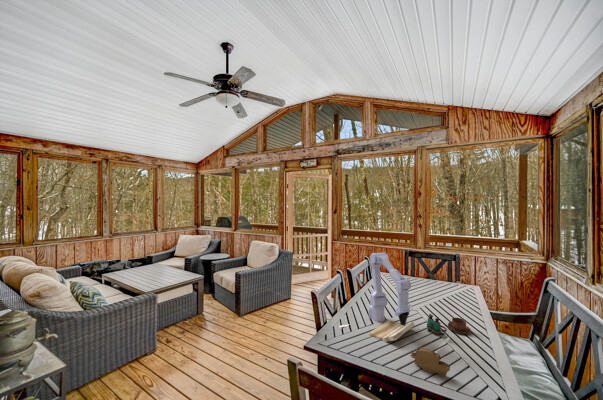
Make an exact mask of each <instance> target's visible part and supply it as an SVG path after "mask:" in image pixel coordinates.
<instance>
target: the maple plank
mask: <svg viewBox="0 0 603 400" xmlns="http://www.w3.org/2000/svg"><path fill="white" fill-rule="evenodd" d="M414 326H415V323H414V321H411V322H410V321H409V322H406V324H405V326H403V325H400V326H399V327H397V328H396V329H395V330H393V331H392V332H390V333H389V334H388V335H386V336H385V337H383V338H382V340H383V341H382V340H381V341H382V342H385V343H387V342H392V341H397V340H398V339H399V338H400V337H402V336H403V335H404V334H405V333H406V332H408V331H409V330H411V329H413V328H414Z"/></svg>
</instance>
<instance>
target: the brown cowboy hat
mask: <svg viewBox="0 0 603 400" xmlns="http://www.w3.org/2000/svg"><path fill="white" fill-rule="evenodd" d="M447 327H448V329H450V330H451V331H452V332H454V333H457V334H463V335H465V334H470V333H471V332H472V329H471V328H470V327H469V326H467V320H466V319H463V318H459V317H452V319H451V321H449V322H448V324H447Z"/></svg>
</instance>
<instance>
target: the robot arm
mask: <svg viewBox="0 0 603 400" xmlns="http://www.w3.org/2000/svg"><path fill="white" fill-rule="evenodd" d="M369 261H370V263H369V264H370V266H371V274H372V275H371V276H372V284H373V292H371V293H370V294H369V295H370V296H369V297H370V299H369V303H370V305H369V306H368V318H369V319H371V320H373V321H376V322H384V321H385V308H386V306H387V305H388V298H387V295H386V293H385V292H383V288H382V287H383V286H382V278H381V277H382V276H381V275H382V274H381V267H382V265H383V267H384V268H385V269H387V271H388V272H389V277H390V278H391V279H392V281H394V284H395V285H394V286H395V288H396V293H397V308H396V310H395V313H394V315H395V316H397V317H398V319H399V323H400V324H401V325H403V326H405V324H406V323H407V319H408V317H409V315H410V313H411V310H410V309H411V305H410V304H409V290H410V289H411V287H412V284H411V281H410V279H408V278H406V277H404V276H403V275H402V273H401V272H400V271H399V269H395V267H394V266H393V265H392V263H391V262H390V260H389V255H388V254H387V253H386V252H373V253H371V254H370V256H369Z"/></svg>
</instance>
